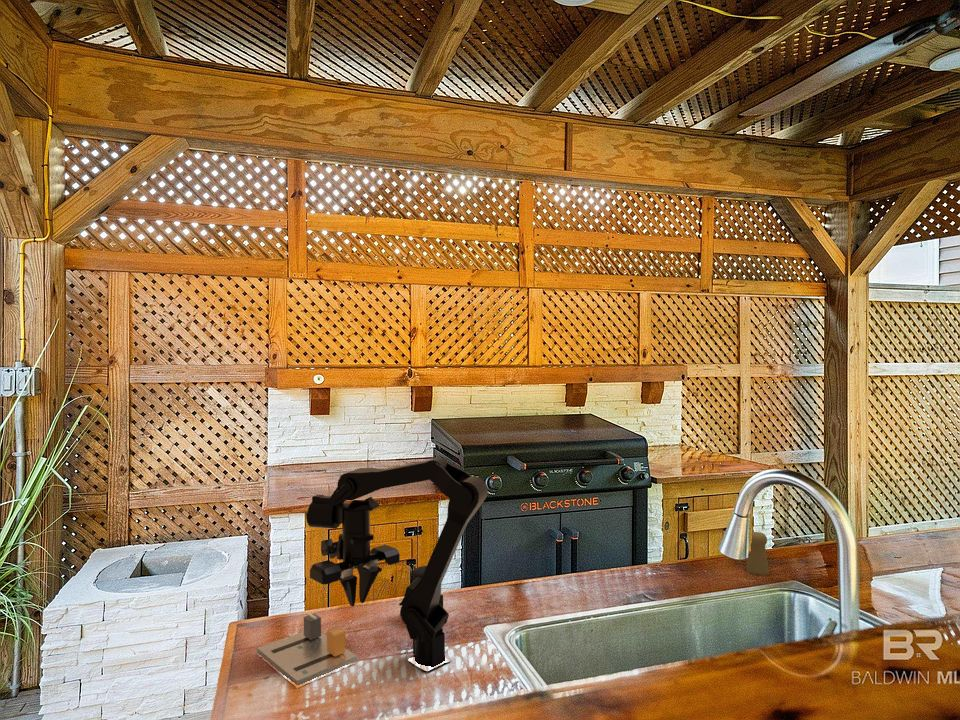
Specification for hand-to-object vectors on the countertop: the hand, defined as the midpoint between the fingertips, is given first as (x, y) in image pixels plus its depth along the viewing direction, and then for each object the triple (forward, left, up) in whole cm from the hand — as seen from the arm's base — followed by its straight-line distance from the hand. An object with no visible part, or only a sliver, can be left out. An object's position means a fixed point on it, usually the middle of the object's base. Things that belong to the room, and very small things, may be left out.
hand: (357, 604), depth 121 cm
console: (+5, +9, -10) cm, 14 cm away
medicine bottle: (+2, -20, -10) cm, 23 cm away
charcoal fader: (+10, +5, -8) cm, 14 cm away
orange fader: (0, +5, -8) cm, 10 cm away
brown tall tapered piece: (-42, -106, -10) cm, 114 cm away
